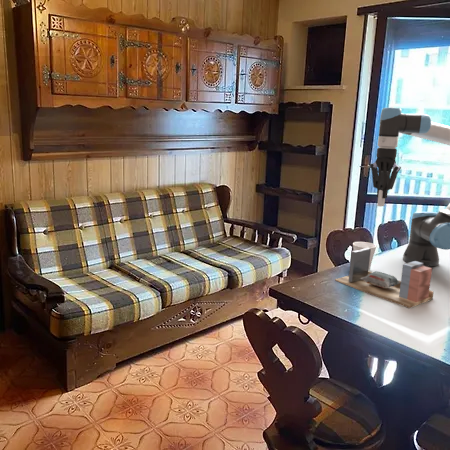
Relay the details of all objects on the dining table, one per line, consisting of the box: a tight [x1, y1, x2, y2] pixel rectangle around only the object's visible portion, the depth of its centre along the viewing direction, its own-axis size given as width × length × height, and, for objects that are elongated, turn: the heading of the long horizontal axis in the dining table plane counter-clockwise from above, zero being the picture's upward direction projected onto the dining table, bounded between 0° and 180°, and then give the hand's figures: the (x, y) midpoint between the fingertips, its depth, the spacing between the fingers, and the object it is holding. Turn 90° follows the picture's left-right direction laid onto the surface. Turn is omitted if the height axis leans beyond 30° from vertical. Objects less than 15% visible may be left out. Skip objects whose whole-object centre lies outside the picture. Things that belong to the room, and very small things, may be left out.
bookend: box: [348, 248, 371, 282], centre depth 183 cm, size 10×2×12 cm, turn 128°
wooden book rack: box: [335, 261, 434, 309], centre depth 176 cm, size 15×32×13 cm, turn 38°
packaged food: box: [361, 270, 400, 288], centre depth 177 cm, size 9×12×5 cm
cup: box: [352, 241, 377, 270], centre depth 201 cm, size 10×10×11 cm
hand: (380, 205), depth 193 cm, fingers closed
